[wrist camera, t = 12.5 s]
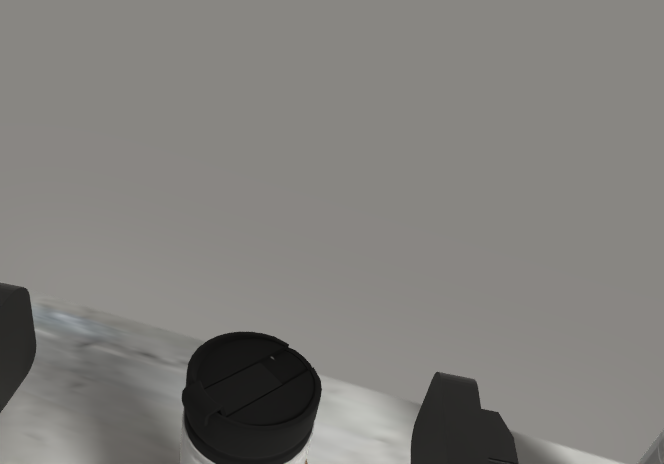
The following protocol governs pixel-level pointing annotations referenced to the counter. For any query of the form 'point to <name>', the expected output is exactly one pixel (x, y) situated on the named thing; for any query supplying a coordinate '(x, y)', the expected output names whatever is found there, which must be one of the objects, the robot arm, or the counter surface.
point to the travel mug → (248, 402)
